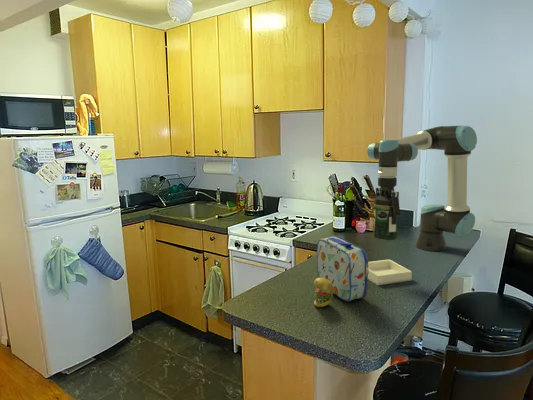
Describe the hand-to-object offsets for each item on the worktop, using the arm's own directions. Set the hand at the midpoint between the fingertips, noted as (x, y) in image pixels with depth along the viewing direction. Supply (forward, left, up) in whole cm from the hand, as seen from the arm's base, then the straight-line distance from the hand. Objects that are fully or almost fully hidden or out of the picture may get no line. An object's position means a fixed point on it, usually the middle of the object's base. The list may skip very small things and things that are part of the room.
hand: (385, 228), depth 163 cm
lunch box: (+25, +10, -22) cm, 34 cm away
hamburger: (+37, +19, -22) cm, 47 cm away
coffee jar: (0, 0, -4) cm, 4 cm away
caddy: (0, 0, -21) cm, 21 cm away
